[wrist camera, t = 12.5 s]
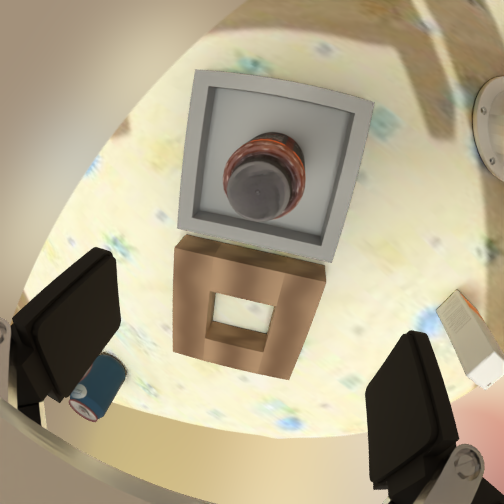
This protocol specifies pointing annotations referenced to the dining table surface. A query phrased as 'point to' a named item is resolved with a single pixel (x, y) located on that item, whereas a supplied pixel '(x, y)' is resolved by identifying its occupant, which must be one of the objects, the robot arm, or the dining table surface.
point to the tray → (281, 121)
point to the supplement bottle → (265, 177)
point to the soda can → (97, 388)
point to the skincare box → (472, 341)
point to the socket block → (250, 288)
